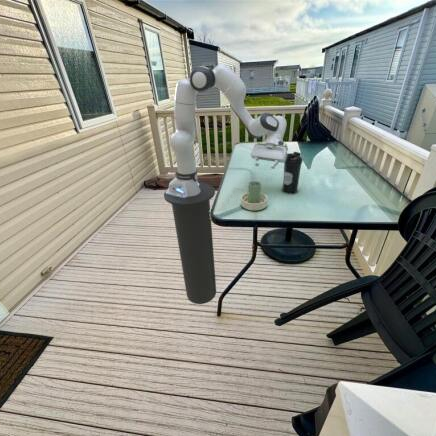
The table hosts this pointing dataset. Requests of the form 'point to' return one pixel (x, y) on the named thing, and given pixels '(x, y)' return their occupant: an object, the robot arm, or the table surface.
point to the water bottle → (292, 172)
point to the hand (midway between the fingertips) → (264, 166)
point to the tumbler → (254, 192)
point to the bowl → (254, 206)
